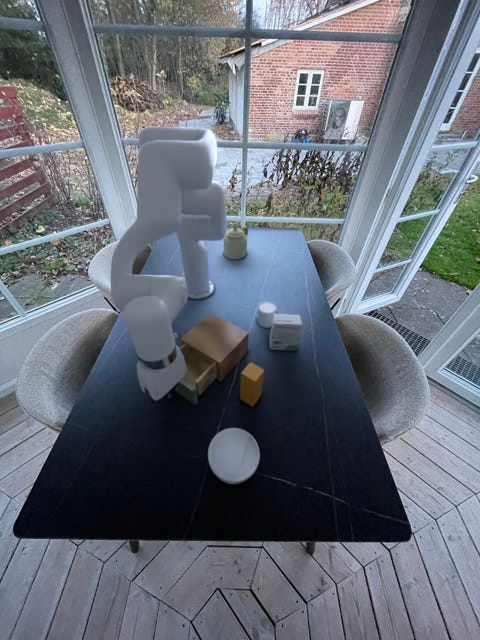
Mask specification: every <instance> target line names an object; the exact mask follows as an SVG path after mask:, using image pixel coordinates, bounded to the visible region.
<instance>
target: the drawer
mask: <svg viewBox="0 0 480 640" xmlns="http://www.w3.org/2000/svg"><path fill="white" fill-rule="evenodd" d="M178 348H179V349H180V351H181V353H182V355H183V357H184V360H185V363H186V367H187V372H186V374H185V376H184V377H183V378H182V379H181V380H180V381H179V383H178V385H179V388H178V390H177V392H178V395H180V396H182V397H183V398H184V399H185V400H187V401H189V402H190V403H191V404H193V405H194V406H196V405H197V404H198V403H199V399H198V396H201V395H202V394H203V392H205V391H206V389H207V388H208V387H209V386H210V385H211V384H212V383H213V382H214V381H215V380H216V379H217V378H216V377H217V376H218V375H219V374H218V363H216V362H215V361H213V360H211V359H210V358H208V357H206V356H205V355H203V354H201V353H200V352H198V351H196V350H195V349H193V348H192V347H190V346H188V345H187V344H185V343H184V344H183V345H182V346H181V345H180V346H178Z"/></svg>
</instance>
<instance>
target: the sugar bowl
mask: <svg viewBox="0 0 480 640" xmlns="http://www.w3.org/2000/svg"><path fill="white" fill-rule="evenodd" d="M232 227H233V228H230V229H228V230H227V231H226V235H225V237H224V238H223V255H224V256H225V257H226V258H228V259H231V260H240V259H243V258H245V257H246V256H247V247H248V235H249V228H248V226H246V225H242V226H241V228H238V224H236V223H234V224H233V225H232Z"/></svg>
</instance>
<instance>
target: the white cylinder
mask: <svg viewBox="0 0 480 640" xmlns="http://www.w3.org/2000/svg"><path fill="white" fill-rule="evenodd" d="M278 310H279V308H278V305H277V304H276V303H275V302H273V301H270V300H265V301H261V302H259V303H258V304H257V323H258V325H259V326H260V327H261V328H271V326H272V319H273V314H278Z"/></svg>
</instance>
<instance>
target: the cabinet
mask: <svg viewBox="0 0 480 640" xmlns="http://www.w3.org/2000/svg"><path fill="white" fill-rule="evenodd" d="M249 335H250V332H248V331H246V330H245V329H242V328H241V327H238V326H237V325H234V324H232V323H230V322H229V321H226V320H225V319H223V318H221V317H219V316H217V315H216V314H214V313H212V312H210V313H209V314H208V315H206V316H205V317H204V318H203V319H202V320H201V321H199V322H198V323H197V324H196V325H194V326H193V327H192V328H191V329H189V331H188V332H186V333H185V334H184V335H182V336H181V337H180V338H179V341H180V347H181V346H182V345H183V344H184V343H185V344H187V345H188V346H190V347H192V348H193V349H195V350H196V351H198V352H200V353H201V354H203V355H205V356H206V357H208V358H210V359H211V360H213V361H215V362H216V363H218V374H219V375H218V376H217V377H216V378H215V379H217V380H218V381H220V382H222V381H223V380H224V379H225V378H226V377H227V375H228V374H229V373H231V371H232V370H233V369H234V367H235V366H236V365H237V364H238V363H240V361H241V360H242V359H243V358H244V357H245V355H246V354H247V353H248V351H249Z"/></svg>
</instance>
